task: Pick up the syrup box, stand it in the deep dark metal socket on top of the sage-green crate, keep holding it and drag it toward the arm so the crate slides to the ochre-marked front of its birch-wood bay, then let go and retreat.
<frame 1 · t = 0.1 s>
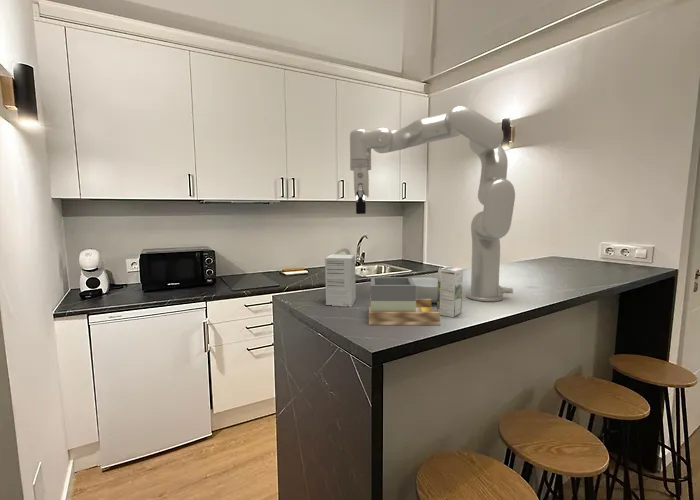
hand: (361, 213, 132), 31 cm above the table, fingers open, 9 cm apart
syrup box: (449, 314, 113), on the table
cereal bowl: (428, 301, 130), on the table
supplement box: (341, 303, 128), on the table
bay: (401, 316, 111), on the table
crate: (391, 296, 111), point 6 cm above the table, slide at 0.0 cm
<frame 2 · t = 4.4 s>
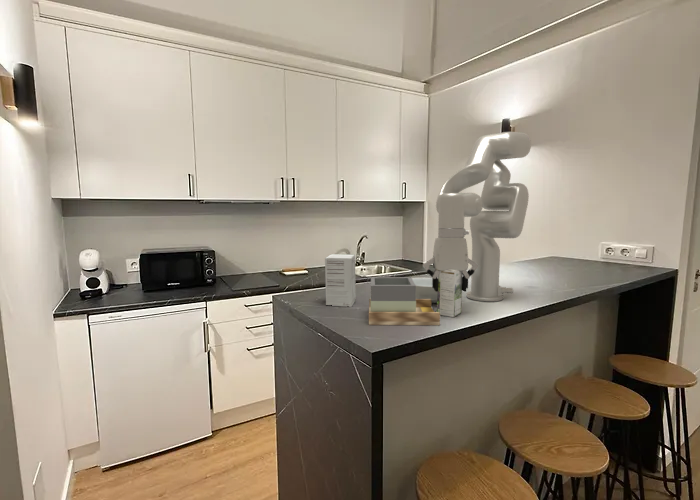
hand: (449, 290, 112), 8 cm above the table, fingers closed on syrup box, 8 cm apart
syrup box: (449, 314, 113), on the table, touching gripper
everything else where it was.
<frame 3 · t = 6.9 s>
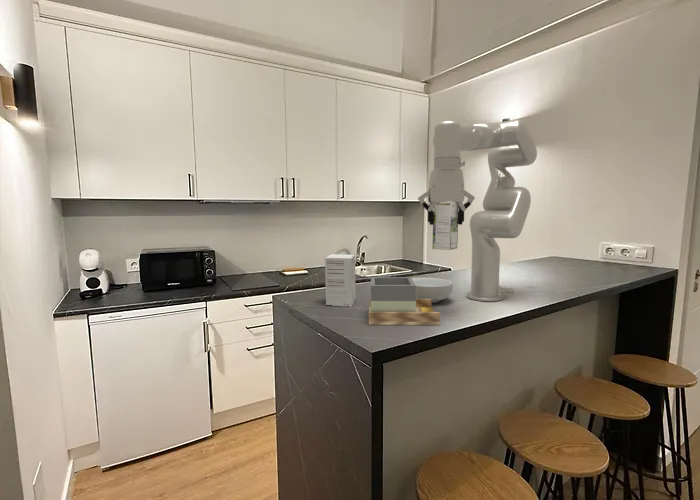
hand: (445, 224, 110), 28 cm above the table, fingers closed on syrup box, 8 cm apart
syrup box: (445, 249, 111), point 20 cm above the table, touching gripper
everything else where it was.
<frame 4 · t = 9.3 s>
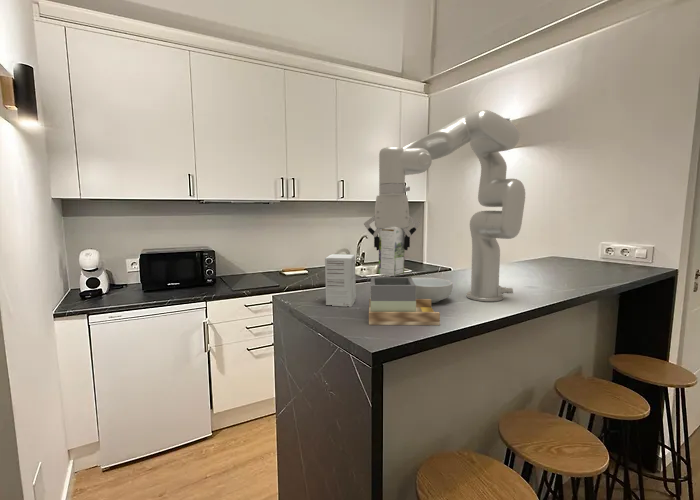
hand: (391, 249, 109), 21 cm above the table, fingers closed on syrup box, 8 cm apart
syrup box: (391, 274, 110), point 13 cm above the table, touching gripper
everything else where it was.
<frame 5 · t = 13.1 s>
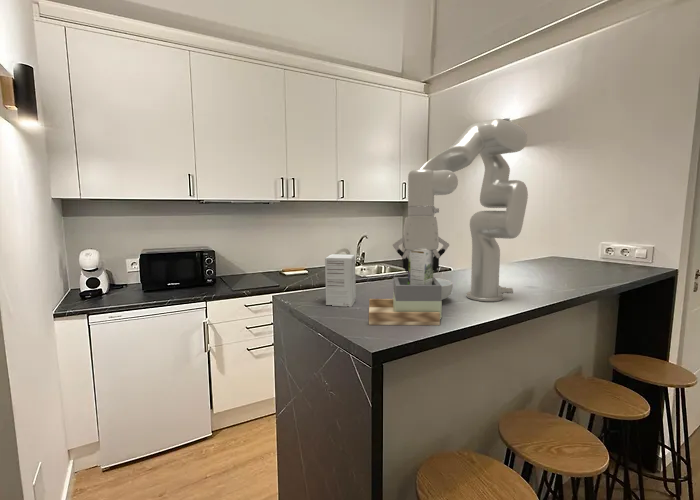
hand: (420, 270, 109), 14 cm above the table, fingers closed on syrup box, 8 cm apart
syrup box: (420, 295, 110), point 7 cm above the table, touching gripper
crate: (415, 296, 110), point 6 cm above the table, slide at 7.2 cm
everything else where it was.
when the fingers open (14 cm above the table, at t = 14.5 s): syrup box stays where it is, resting on crate.
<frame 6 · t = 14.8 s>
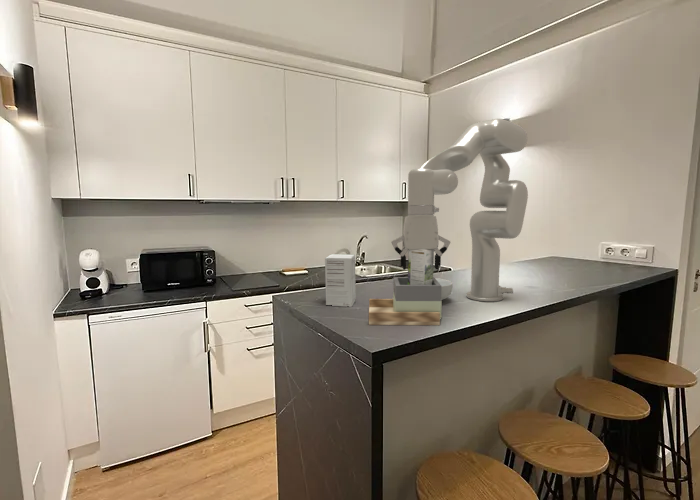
hand: (420, 268, 109), 15 cm above the table, fingers open, 9 cm apart
syrup box: (420, 296, 110), point 6 cm above the table, touching crate
crate: (415, 296, 110), point 6 cm above the table, slide at 7.2 cm, touching syrup box
everything else where it was.
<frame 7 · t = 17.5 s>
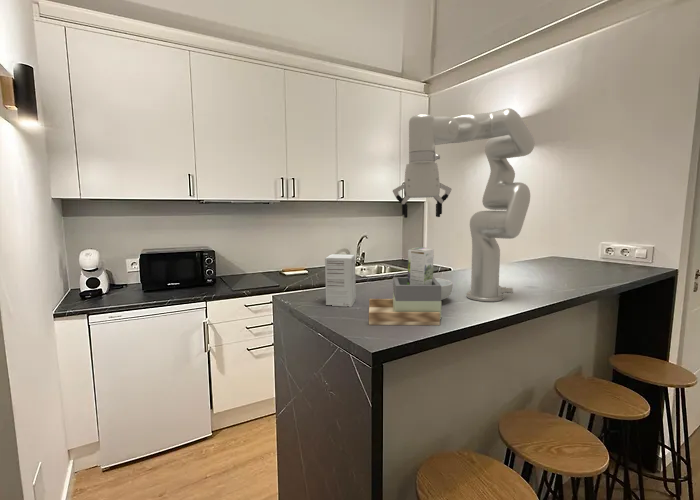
hand: (421, 217, 109), 30 cm above the table, fingers open, 9 cm apart
nothing on the table moved.
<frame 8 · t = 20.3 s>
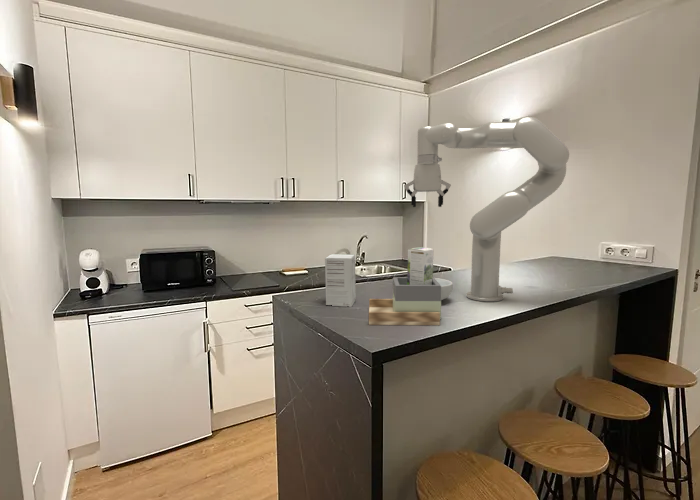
hand: (427, 206, 138), 33 cm above the table, fingers open, 9 cm apart
nothing on the table moved.
at the end: crate slide at 7.1 cm; syrup box 1.4 cm from the crate (horizontally); syrup box tilted 0° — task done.
